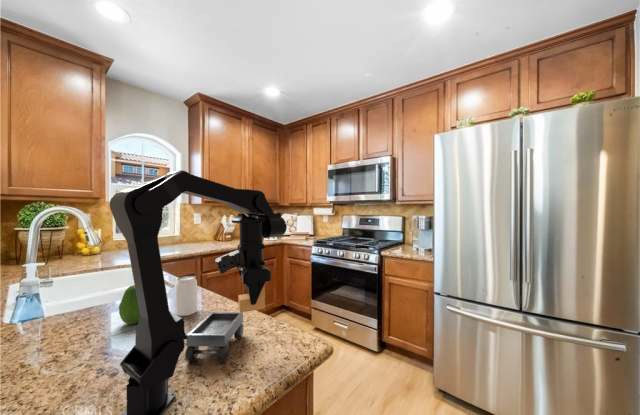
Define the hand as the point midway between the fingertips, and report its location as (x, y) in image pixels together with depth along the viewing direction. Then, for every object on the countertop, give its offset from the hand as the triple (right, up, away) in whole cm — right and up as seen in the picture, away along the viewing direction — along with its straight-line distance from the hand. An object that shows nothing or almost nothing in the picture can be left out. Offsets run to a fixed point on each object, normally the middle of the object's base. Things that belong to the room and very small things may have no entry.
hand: (251, 301), depth 66 cm
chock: (0, -2, 0) cm, 2 cm away
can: (-28, -13, +23) cm, 39 cm away
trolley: (-9, -12, 0) cm, 15 cm away
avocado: (-41, -13, +15) cm, 45 cm away
